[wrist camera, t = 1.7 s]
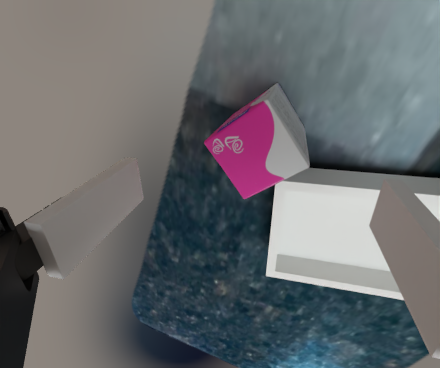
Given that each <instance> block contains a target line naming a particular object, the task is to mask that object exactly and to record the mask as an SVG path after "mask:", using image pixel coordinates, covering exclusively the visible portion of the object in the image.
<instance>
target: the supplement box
mask: <svg viewBox="0 0 440 368" xmlns="http://www.w3.org/2000/svg"><path fill="white" fill-rule="evenodd" d="M204 144H205V145H206V147H207V148H208V149H209V151H210V152H211V154H212V155H213V156H214V158H215V159H216V160H217V162H218V163H219V164H220V166H221V167H222V168H223V170H224V171H225V173H226V174H227V176H228V177H229V179H230V180H231V181H232V183H233V184H234V186H235V187H236V189H237V190H238V191H239V193H240V194H241V196H242V197H243V199H246V198H248V197H251V196H253V195H255V194H257V193H259V192H261V191H263V190H265V189H267V188H269V187H271V186H273V185H275V184H277V183H279V182H281V181H283V180H285V179H287V178H289V177H291V176H293V175H295V174H297V173H299V172H301V171H303V170H305V169H307V168H309V167H310V162H309V155H308V148H307V141H306V133H305V128H304V125H303V124H302V122H301V120H300V119H299V117H298V115H297V113H296V112H295V110H294V108H293V107H292V105H291V103H290V101H289V100H288V98H287V96H286V95H285V93H284V91H283V89H282V88H281V86H280V85H279V83H276V84H275V85H273V86H272V87H271V88H269V89H268V90H267V91H265V92H264V93H262V94H261V95H260V96H258V97H257V98H255V99H254V100H253V101H251V102H250V103H248V104H247V105H246V106H244V107H243V108H241V109H240V110H238V111H237V112H235V113H234V114H233V115H232V116H231V117H230V118H229V119H227V120H226V121H225V122H224V123H223V124H222V125H221V126H220V127H219V128H218V129H217V130H216V131H215V132H214V133H213V134H212V135H211V136H210V137H209V138H207V139H206V140H205V141H204Z"/></svg>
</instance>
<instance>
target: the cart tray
mask: <svg viewBox="0 0 440 368" xmlns="http://www.w3.org/2000/svg"><path fill="white" fill-rule="evenodd" d="M384 179H393V180H402V181H403V182H404V183H405V184H406V185H407V186H408V187H409V188H410V189H411V191H412V192H413V193H414V194H415V195H416V196H417V197H418V198H419V199H420V201H421V202H422V203H423V204H424V205H425V206H426V207H427V208H428V209H429V210H430V212H431V213H432V214H433V215H434V216H435V217H436V218H437V219H438V220H439V221H440V178H428V177H416V176H404V175H391V174H379V173H367V172H354V171H342V170H330V169H317V168H307V169H305V170H303V171H301V172H299V173H297V174H295V175H293V176H291V177H289V178H287V179H285V180H283V181H281V182H279V183H277V184H275V192H274V202H273V211H272V221H271V231H270V241H269V251H268V261H267V271H266V276H270V277H275V278H281V279H287V280H292V281H298V282H304V283H309V284H315V285H321V286H326V287H332V288H338V289H344V290H349V291H355V292H361V293H366V294H372V295H378V296H383V297H389V298H395V299H400V300H404V298H403V296H402V294H401V292H400V290H399V288H398V286H397V284H396V281H395V279H394V277H393V275H392V273H391V271H390V269H389V267H388V265H387V262H386V260H385V258H384V256H383V254H382V252H381V250H380V248H379V246H378V243H377V241H376V239H375V237H374V235H373V233H372V231H371V229H370V227H369V224H370V221H371V218H372V215H373V212H374V209H375V206H376V202H377V199H378V196H379V193H380V190H381V187H382V184H383V181H384Z"/></svg>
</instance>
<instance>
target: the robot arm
mask: <svg viewBox="0 0 440 368" xmlns="http://www.w3.org/2000/svg"><path fill="white" fill-rule="evenodd" d="M143 199H144V197H143V192H142V186H141V180H140V175H139V169H138V164H137V159H136V158H124V159H122V160H120V161H119V162H117V163H116V164H114V165H112V166H111V167H110V168H108V169H106V170H105V171H103V172H102V173H100V174H98V175H97V176H95V177H94V178H92V179H90V180H89V181H87V182H86V183H84V184H83V185H81V186H79V187H78V188H76V189H75V190H73V191H72V192H70V193H69V194H67V195H65V196H64V197H62V198H60V199H58V200H56V201H55V202H53V203H52V204H51V205H48V206H47V207H45V208H44V209H43V210H41V211H39V212H37V213H36V214H34V215H33V216H31V217H30V218H28V219H26V220H25V221H23V222H22V223H20V224H18V225H17V226H15V225H14V223H13V221H12V219H11V217H10V215H9V212H8V210H7V209H5V208H3V207H0V368H23V366H24V360H25V354H26V349H27V343H28V338H29V332H30V326H31V321H32V315H33V309H34V304H35V298H36V293H37V287H38V282H39V275H38V273H37V270H39V269H40V268H41V267H42V266H43V265H44V267H45V270H46V272H47V274H48V276H51V277H56V278H60V279H64V278H65V277H66V276H67V275H68V274H69V273H70V272H71V271H72V270H73V269H74V268H75V267H76V266H77V265H78V264H79V263H80V262H81V261H82V260H83V259H84V258H85V257H86V256H87V255H88V254H89V253H90V252H91V251H92V250H93V249H94V248H95V247H96V246H97V245H98V244H99V243H100V242H101V241H102V240H103V239H104V238H105V237H106V236H107V235H108V234H109V233H110V232H111V231H112V230H113V229H114V228H115V227H116V226H117V225H118V224H119V223H120V222H121V221H122V220H123V219H124V218H125V217H126V216H127V215H128V214H129V213H130V212H131V211H132V210H133V209H134V208H135V207H136V206H137V205H138V204H139V203H140V202H141V201H142V200H143ZM369 227H370V229H371V231H372V233H373V235H374V237H375V239H376V241H377V243H378V246H379V248H380V250H381V252H382V254H383V256H384V258H385V260H386V262H387V265H388V267H389V269H390V271H391V273H392V275H393V277H394V279H395V281H396V284H397V286H398V288H399V290H400V292H401V294H402V296H403V298H404V300H405V303H406V305H407V307H408V309H409V311H410V313H411V315H412V317H413V319H414V322H415V324H416V326H417V328H418V330H419V332H420V334H421V336H422V338H423V341H424V343H425V345H426V347H427V349H428V351H429V353H430V355H431V357H433V358H438V359H440V221H439V220H438V219H437V218H436V217H435V216H434V215H433V214H432V213H431V212H430V210H429V209H428V208H427V207H426V206H425V205H424V204H423V203H422V202H421V201H420V199H419V198H418V197H417V196H416V195H415V194H414V193H413V192H412V191H411V189H410V188H409V187H408V186H407V185H406V184H405V183H404V182H403V181H402V180H393V179H384V181H383V184H382V187H381V190H380V193H379V196H378V199H377V202H376V206H375V209H374V212H373V215H372V218H371V221H370V224H369Z"/></svg>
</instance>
